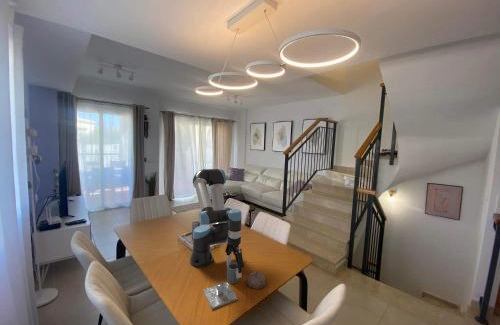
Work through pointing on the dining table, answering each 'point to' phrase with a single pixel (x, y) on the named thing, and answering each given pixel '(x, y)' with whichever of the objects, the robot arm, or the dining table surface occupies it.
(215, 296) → the square plate
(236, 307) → the dining table surface
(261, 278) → the decorative stone
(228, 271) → the sleeve
